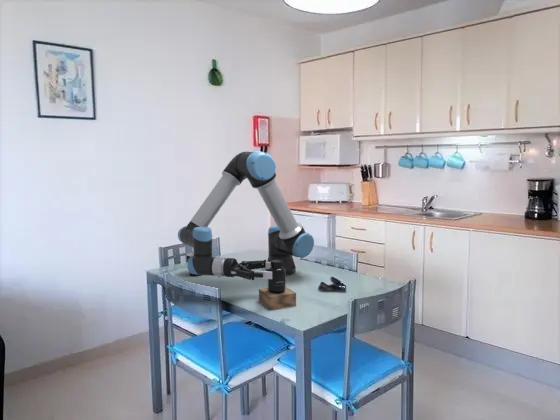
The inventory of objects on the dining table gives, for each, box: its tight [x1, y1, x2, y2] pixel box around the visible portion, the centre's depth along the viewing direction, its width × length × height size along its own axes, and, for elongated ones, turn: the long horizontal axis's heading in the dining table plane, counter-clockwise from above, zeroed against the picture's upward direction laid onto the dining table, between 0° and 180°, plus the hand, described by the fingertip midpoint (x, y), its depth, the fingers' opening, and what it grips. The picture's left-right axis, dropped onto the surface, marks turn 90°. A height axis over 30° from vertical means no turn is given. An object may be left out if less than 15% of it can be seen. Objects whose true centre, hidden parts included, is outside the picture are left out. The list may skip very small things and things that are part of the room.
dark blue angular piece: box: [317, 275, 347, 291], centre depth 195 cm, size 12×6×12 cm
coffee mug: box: [185, 252, 202, 277], centre depth 219 cm, size 12×9×10 cm
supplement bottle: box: [267, 260, 287, 293], centre depth 176 cm, size 7×7×12 cm
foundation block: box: [258, 285, 297, 311], centre depth 177 cm, size 11×11×5 cm
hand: (276, 270), depth 176 cm, fingers open, 13 cm apart
